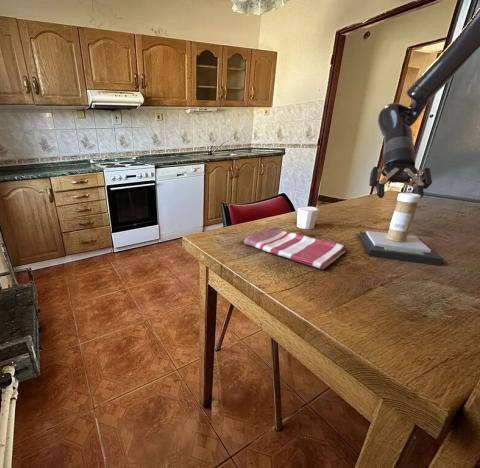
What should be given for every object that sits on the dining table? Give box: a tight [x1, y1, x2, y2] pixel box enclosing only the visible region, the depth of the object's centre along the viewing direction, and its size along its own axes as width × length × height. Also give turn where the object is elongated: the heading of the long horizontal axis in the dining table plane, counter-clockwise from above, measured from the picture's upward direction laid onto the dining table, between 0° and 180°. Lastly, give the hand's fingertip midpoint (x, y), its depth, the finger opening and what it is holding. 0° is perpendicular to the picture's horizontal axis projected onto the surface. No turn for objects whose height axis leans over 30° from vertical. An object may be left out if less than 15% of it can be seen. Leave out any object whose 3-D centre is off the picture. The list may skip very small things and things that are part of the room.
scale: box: [358, 230, 444, 267], centre depth 74 cm, size 15×15×3 cm
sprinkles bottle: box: [386, 192, 422, 242], centre depth 72 cm, size 5×5×13 cm
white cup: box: [296, 205, 320, 230], centre depth 94 cm, size 7×7×7 cm
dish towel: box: [243, 225, 346, 270], centre depth 77 cm, size 17×23×3 cm
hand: (399, 197), depth 77 cm, fingers open, 8 cm apart
